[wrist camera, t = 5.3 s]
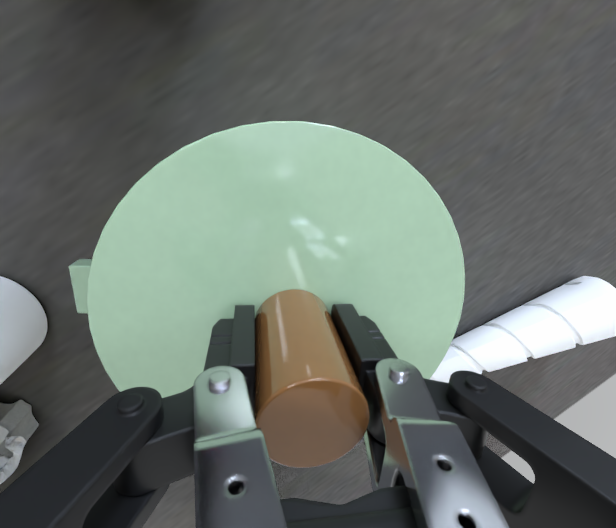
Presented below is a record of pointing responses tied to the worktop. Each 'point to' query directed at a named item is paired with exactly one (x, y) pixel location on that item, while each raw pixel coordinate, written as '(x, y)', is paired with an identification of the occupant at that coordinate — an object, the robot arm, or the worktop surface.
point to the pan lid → (277, 273)
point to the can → (18, 326)
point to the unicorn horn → (536, 329)
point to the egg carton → (14, 434)
